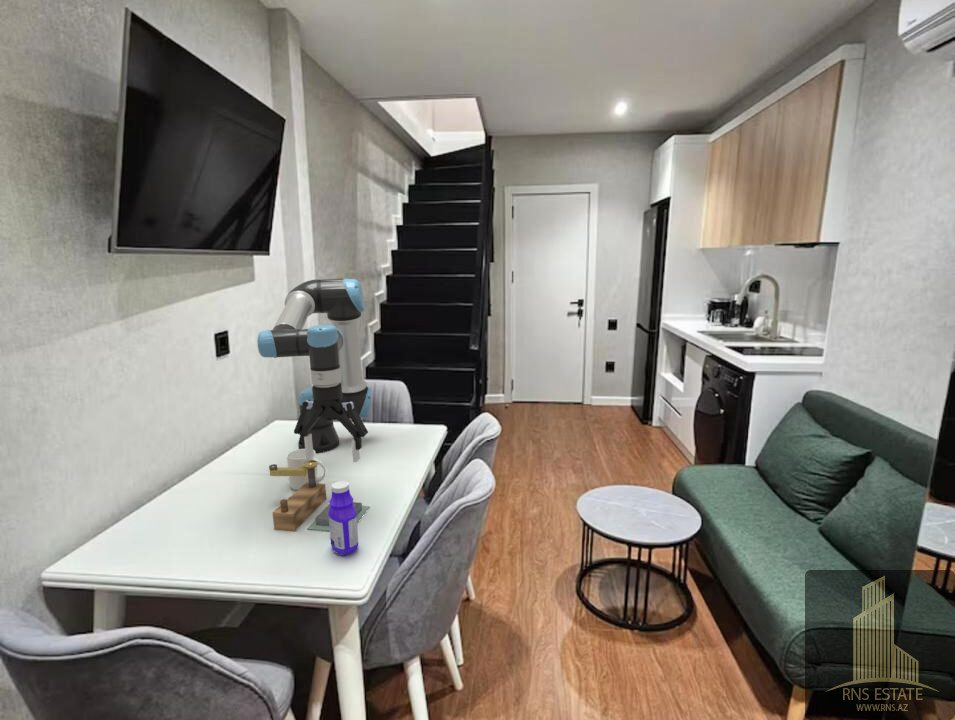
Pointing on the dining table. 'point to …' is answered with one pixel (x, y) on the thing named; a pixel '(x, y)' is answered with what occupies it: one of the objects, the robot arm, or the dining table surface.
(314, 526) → the mat
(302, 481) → the mug
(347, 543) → the bottle
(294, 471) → the lever
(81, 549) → the dining table surface
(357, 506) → the grey knob plate
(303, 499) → the plane body
